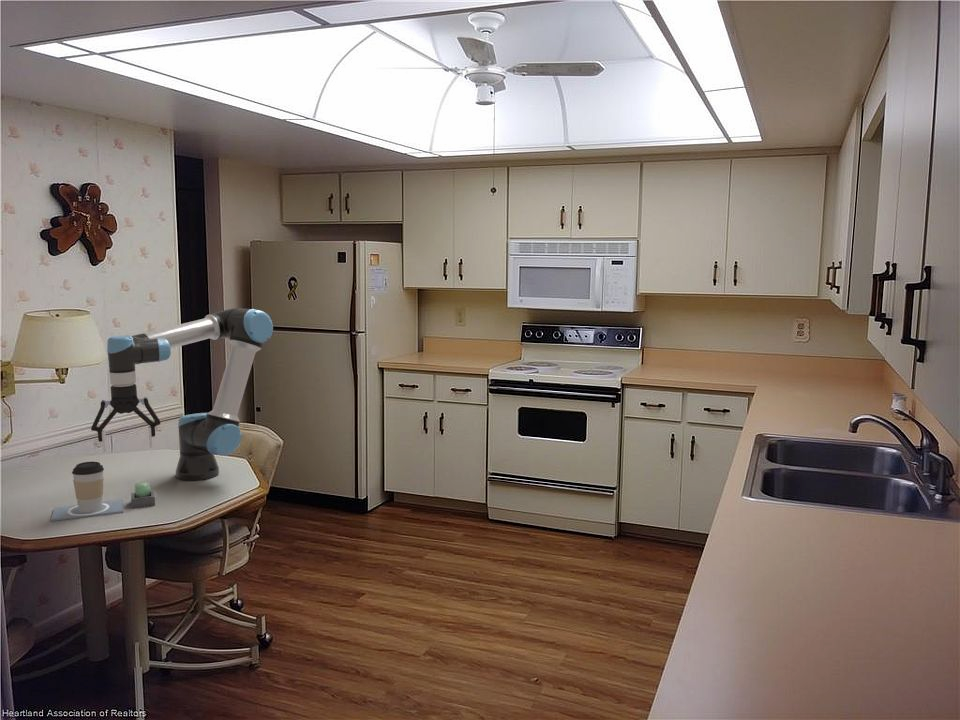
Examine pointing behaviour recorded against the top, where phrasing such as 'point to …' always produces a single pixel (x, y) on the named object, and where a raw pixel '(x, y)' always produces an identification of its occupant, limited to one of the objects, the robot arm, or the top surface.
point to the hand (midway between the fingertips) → (128, 448)
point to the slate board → (73, 512)
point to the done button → (142, 489)
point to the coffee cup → (88, 486)
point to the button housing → (142, 500)
